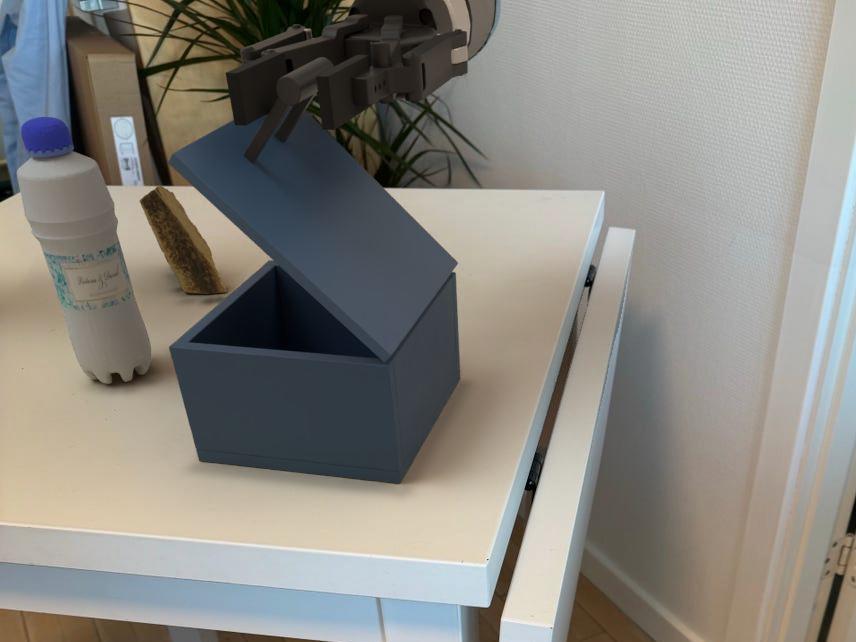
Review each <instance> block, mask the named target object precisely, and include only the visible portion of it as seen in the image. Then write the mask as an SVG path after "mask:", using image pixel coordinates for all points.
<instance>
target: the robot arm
mask: <svg viewBox="0 0 856 642" xmlns="http://www.w3.org/2000/svg"><path fill="white" fill-rule="evenodd" d="M501 4H502V1H501V0H353V2H352V3H351V5H350V8H349V11H348V13H347V16H346V17H345V18H344V19H343V21H342V22H338V23H333V24H330V25H326V26H324V27H323V29H322V32H321V36H318V37H313V34H312V29H311V28H306V27H305V26H303V25H301V24H300V23H298V24H297V23H295V24H292V26H288V27H287V29H286V31H284V32H281V33H279V34H276V35H274V36H271V37H269V38H266V39H264V40H262V41H259V42H256V43H254V44H251V45H247V46H245V47H244V48H241V49H239V52H240V58H241V63H242V65H240V66H237V67H236V68H233V69H231V70H228V71H226V72H225V78H226V84H227V89H228V95H229V100H230V106H231V112H232V117H233V120H234V124H235V125H245V126H246V125H248V124H250V123H252V122H254V121H256V120H257V119H259V118H261V117H263V116H265V115H267V114H268V113H269V112H270V110H271V108H272V107H273V105H274V103H275V102H276V100H277V98H278V95H277V91H276V85H277V82H278V80H279V79H280V78H281V77H283V76H285V75H287V74H288V73H290V72H292V71H294V70H296V69H298V68H300V67H302V66H304V65H306V64H308V63H310V62H312V61H313V60H315V59H317V58H320V57H324V58H327V59H328V60H330V61H331V62H332V64H333V66H334V67H333V68H331V69H329V70H327V71H325V72H323V73H321V74H319V75H317V76H316V80H317V88H318V92H317V96H318V104H319V112H320V121H321V122H320V123H321V126H322V129H324V130H326V131H335V130H337V129H338V128H340V127H341V126H344V125H345V124H346V123H347V122H349V121H351V120H352V119H354V118H355V117H357V116H358V115H360V114H361V113H363V112H364V111H366V110H368V109H369V108H371V107H372V106H374V105H375V104H376V103H380V104H381V105H382V104H383V105H387V104H389V103H393V101H395V100H404V101H406V102H410V103H411V104H417V103H419V102H422V101H423V100H425V99H426V98H428V97H429V96H430V95H432V94H433V93H434V92H436V91H437V90H438V89H440V88H441V87H442V86H444V85H445V84H446V83H448V82H450V80H452V79H453V78H457V77H462V76H464V75H466V74H468V73H469V64H468V63H469V61H471V60H472V59H474V58H475V57H476V56H478V54H479V53H480V52H482V51H483V49H485V47H486V46H487V44H488V42H489V41H490V39H491V38H492V37H493V35H494V33H495V31H496V29H497V27H498V24H499V21H500V16H501V9H502V8H501V7H502V5H501Z"/></svg>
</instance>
